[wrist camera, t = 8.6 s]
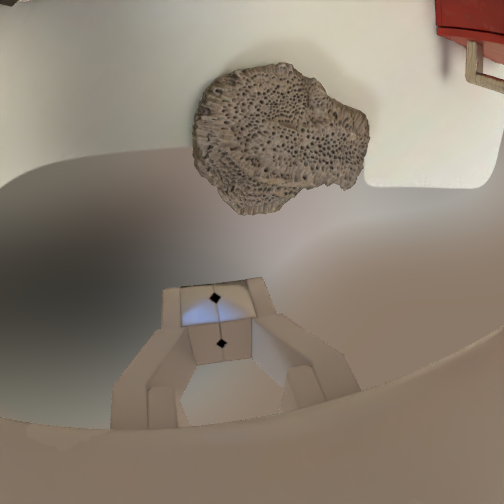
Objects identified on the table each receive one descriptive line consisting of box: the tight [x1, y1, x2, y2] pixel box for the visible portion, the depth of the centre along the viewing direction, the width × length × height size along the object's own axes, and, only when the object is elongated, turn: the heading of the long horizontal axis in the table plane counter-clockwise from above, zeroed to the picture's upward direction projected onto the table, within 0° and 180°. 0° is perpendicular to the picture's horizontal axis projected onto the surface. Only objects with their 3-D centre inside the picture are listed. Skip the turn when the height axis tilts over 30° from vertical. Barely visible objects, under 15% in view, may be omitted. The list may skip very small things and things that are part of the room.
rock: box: [192, 63, 370, 216], centre depth 25 cm, size 15×16×5 cm
